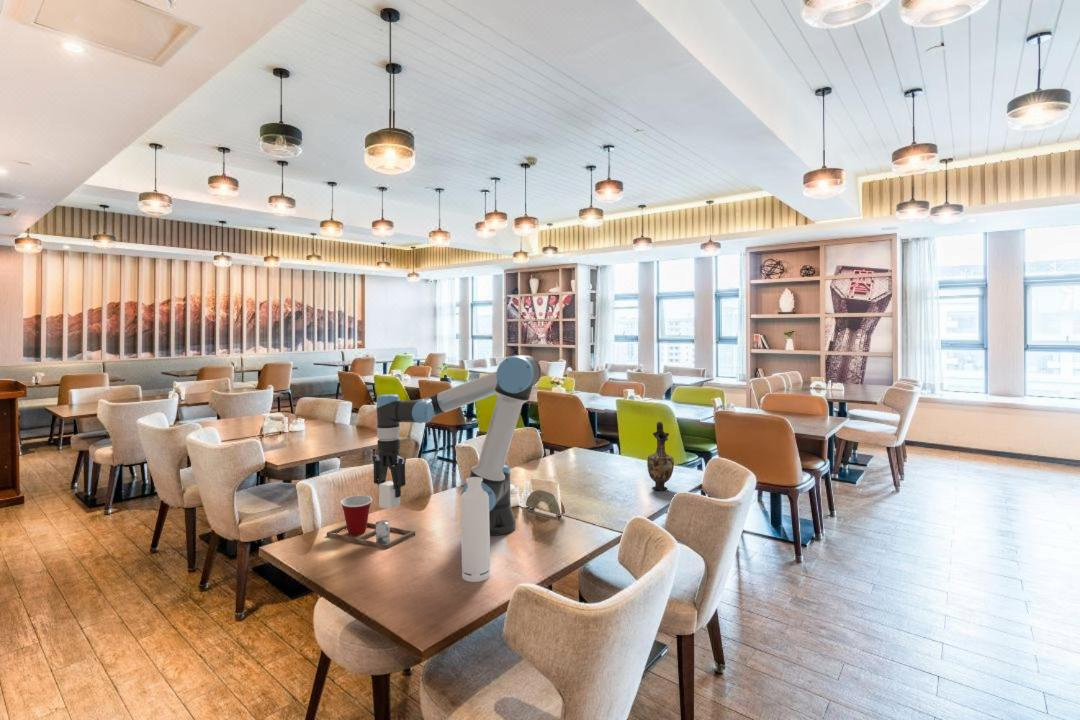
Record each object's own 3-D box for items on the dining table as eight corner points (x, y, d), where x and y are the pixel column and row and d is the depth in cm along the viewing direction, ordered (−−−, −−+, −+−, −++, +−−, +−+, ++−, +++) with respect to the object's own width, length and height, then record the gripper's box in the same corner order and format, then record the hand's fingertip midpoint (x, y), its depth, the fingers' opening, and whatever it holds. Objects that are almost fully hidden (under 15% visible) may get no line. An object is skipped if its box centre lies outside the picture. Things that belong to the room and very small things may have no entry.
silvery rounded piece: (392, 541, 179) (392, 521, 179) (383, 546, 175) (382, 525, 174) (382, 539, 181) (382, 519, 181) (373, 544, 177) (372, 523, 176)
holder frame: (415, 534, 185) (415, 531, 185) (386, 548, 172) (386, 545, 172) (357, 523, 198) (357, 520, 198) (326, 535, 185) (326, 532, 185)
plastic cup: (348, 540, 180) (347, 506, 180) (336, 532, 188) (335, 499, 188) (378, 532, 188) (377, 499, 187) (365, 525, 196) (364, 493, 195)
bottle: (463, 570, 155) (461, 476, 154) (490, 568, 156) (488, 474, 155) (461, 582, 147) (459, 483, 146) (490, 581, 148) (488, 482, 147)
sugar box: (400, 504, 185) (399, 482, 185) (390, 508, 180) (389, 485, 180) (389, 503, 187) (389, 480, 187) (379, 507, 183) (378, 484, 182)
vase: (648, 492, 233) (647, 424, 232) (647, 484, 245) (646, 420, 244) (675, 493, 231) (674, 425, 230) (672, 485, 243) (672, 420, 242)
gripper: (416, 439, 182) (417, 505, 183) (377, 435, 191) (378, 499, 191) (401, 442, 176) (402, 511, 176) (361, 438, 184) (362, 504, 185)
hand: (389, 505), depth 184 cm, fingers closed on sugar box, 5 cm apart
